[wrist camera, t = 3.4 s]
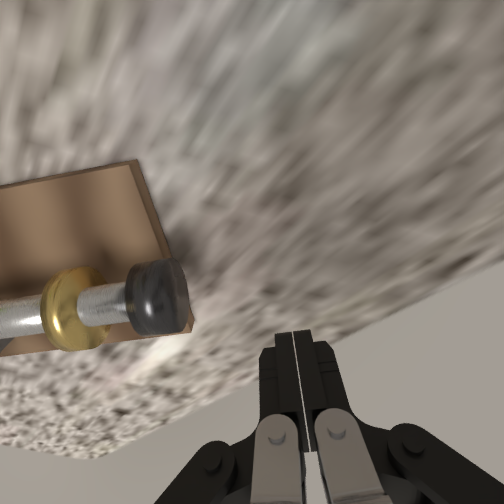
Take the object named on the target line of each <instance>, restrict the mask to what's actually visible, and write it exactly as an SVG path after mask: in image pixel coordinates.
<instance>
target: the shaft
mask: <svg viewBox="0 0 504 504" xmlns="http://www.w3.org/2000/svg"><path fill="white" fill-rule="evenodd" d="M188 314H189V295H188V288H187V283H186V279H185V275H184V273H183V270H182V268H181V266H180V264H179V263H178V262H177V261H176V260H175V259H174V258H167V259H160V260H154V261H147V262H141V263H136V264H134V265H133V266H132V267H131V269H130V271H129V273H128V275H127V279H126V282H120V283H113V284H108V283H107V282H106V280H105V278H104V277H103V276H102V274H101V273H100V272H99V271H97V270H96V269H94V268H92V267H88V266H83V267H77V268H71V269H64V270H61V271H59V272H57V273H55V274H54V275H53V276H52V277H51V278H50V279H49V280H48V282H47V283H46V285H45V287H44V290H43V293H42V294H40V295H33V296H26V297H20V298H13V299H6V300H0V339H4V338H12V337H19V336H27V335H34V334H41V333H45V334H46V336H47V338H48V339H49V341H50V342H51V343H52V344H53V345H54V346H55V347H56V348H58V349H60V350H62V351H66V352H72V351H80V350H88V349H93V348H96V347H98V346H99V345H100V344H102V342H103V341H104V340H105V339H106V337H107V335H108V333H109V331H110V328H111V325H112V324H116V323H123V322H130V323H131V325H132V327H133V329H134V330H135V331H136V332H137V333H138V334H139V335H140V336H142V337H149V336H157V335H164V334H172V333H180V332H182V331H183V330H184V328H185V326H186V324H187V320H188Z"/></svg>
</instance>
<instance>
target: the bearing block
mask: <svg viewBox="0 0 504 504" xmlns="http://www.w3.org/2000/svg"><path fill="white" fill-rule="evenodd" d="M167 258H172V256H171V253H170V250H169V248H168V245H167V242H166V239H165V237H164V234H163V231H162V228H161V225H160V223H159V220H158V217H157V214H156V211H155V209H154V206H153V203H152V200H151V197H150V195H149V192H148V189H147V186H146V183H145V181H144V178H143V175H142V172H141V169H140V167H139V164H138V161H137V159H135V160H130V161H125V162H120V163H115V164H110V165H105V166H99V167H94V168H89V169H84V170H79V171H74V172H69V173H64V174H58V175H53V176H48V177H43V178H38V179H33V180H28V181H23V182H17V183H12V184H7V185H2V186H0V300H6V299H13V298H20V297H26V296H33V295H40V294H42V293H43V290H44V287H45V285H46V283H47V282H48V280H49V279H50V278H51V277H52V276H53V275H54V274H55V273H57V272H59V271H61V270H64V269H71V268H77V267H83V266H88V267H92V268H94V269H96V270H97V271H99V272H100V273H101V274H102V276H103V277H104V278H105V280H106V282H107V283H108V284H113V283H120V282H126V279H127V275H128V273H129V271H130V269H131V267H132V266H133V265H134V264H136V263H141V262H147V261H154V260H160V259H167ZM193 324H194V317H193V315H192V312H191V309H190V306H189V314H188V320H187V324H186V326H185V328H184V330H183V331H182V332H180V333H172V334H164V335H157V336H149V337H142V336H140V335H139V334H138V333H137V332H136V331H135V330H134V329H133V327H132V325H131V323H130V322H123V323H116V324H112V325H111V328H110V331H109V333H108V335H107V337H106V339H105V340H104V341H103V342H102V344H105V343H113V342H121V341H129V340H137V339H145V338H153V337H160V336H168V335H176V334H184V333H191V331H192V328H193ZM50 350H58V348H56V347H55V346H54V345H53V344H52V343H51V342H50V341H49V339H48V338H47V336H46V334H45V333H41V334H34V335H27V336H19V337H12V338H4V339H0V357H3V356H11V355H19V354H27V353H35V352H43V351H50Z"/></svg>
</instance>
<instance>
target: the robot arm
mask: <svg viewBox="0 0 504 504" xmlns="http://www.w3.org/2000/svg"><path fill="white" fill-rule="evenodd" d="M293 334H294V341H295V348H296V355H297V361H298V367H299V374H300V381H301V388H302V394H303V401H304V407H305V414H306V420H307V427H308V433H309V439H310V446H311V452H314V451H317V454H318V460H319V465H320V474H321V479H322V483H323V487H324V492H325V496H326V500H327V504H504V484H502V483H501V482H499V481H498V480H496V479H495V478H494V477H492V476H491V475H489V474H488V473H486V472H485V471H483V470H482V469H480V468H479V467H478V466H476V465H475V464H473V463H472V462H471V461H469V460H468V459H466V458H465V457H463V456H462V455H461V454H459V453H458V452H456V451H455V450H453V449H452V448H451V447H449V446H448V445H446V444H445V443H443V442H442V441H440V440H439V439H437V438H436V437H435V436H433V435H432V434H430V433H429V432H428V431H426V430H425V429H423V428H421V427H419V426H417V425H414V424H409V423H403V424H399V425H396V426H394V427H393V428H392V429H391V430H386V429H382V428H377V427H373V426H370V425H367V424H365V423H364V422H362V421H361V420H359V419H358V418H357V417H356V416H355V415H354V413H353V412H352V410H351V408H350V406H349V402H348V399H347V395H346V392H345V388H344V385H343V382H342V378H341V375H340V372H339V368H338V365H337V362H336V358H335V354H334V351H333V349H332V348H331V347H330V345H329V344H328V343H327V342H326V341H318V342H313V339H312V335H311V330H310V329H308V330H301V331H293ZM259 380H260V381H259V391H260V419H259V423H258V426H257V428H256V429H255V430H254V432H253V433H252V434H251V435H250V436H248V437H247V438H246V439H244V440H242V441H240V442H237V443H235V444H233V445H231V446H229V445H228V444H227V443H225V442H222V441H212V442H209V443H207V444H205V445H203V446H202V447H201V448H200V449H199V450H198V452H196V454H195V455H194V456H193V457H192V459H191V460H190V461H189V462H188V463H187V465H186V466H185V467H184V468H183V469H182V470H181V472H180V473H179V474H178V475H177V477H176V478H175V479H174V480H173V481H172V482H171V484H170V485H169V486H168V487H167V489H166V490H165V491H164V492H163V493H162V495H161V496H160V497H159V498H158V499H157V501H156V502H155V503H154V504H307V494H306V478H305V477H306V466H305V458H304V452H309V446H308V439H307V432H306V425H305V419H304V413H303V406H302V398H301V392H300V385H299V378H298V371H297V365H296V358H295V351H294V345H293V338H292V332H285V333H277V334H275V347H270V348H264V349H263V351H262V353H261V355H260V357H259Z"/></svg>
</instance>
